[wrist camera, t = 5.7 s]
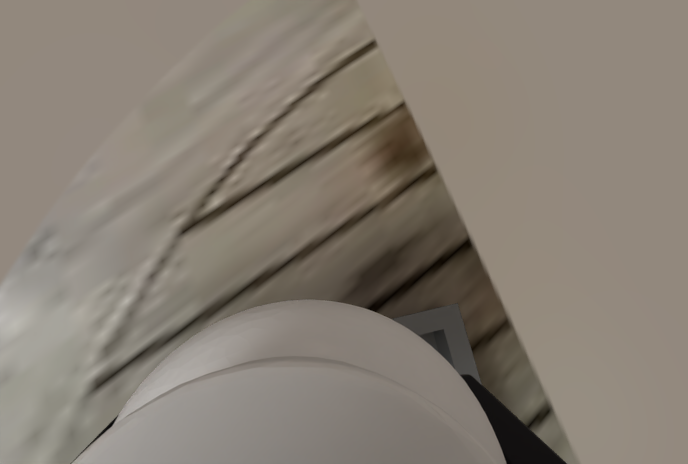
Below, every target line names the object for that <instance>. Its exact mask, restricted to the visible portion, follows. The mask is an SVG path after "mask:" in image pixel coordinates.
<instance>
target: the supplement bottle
mask: <svg viewBox="0 0 688 464" xmlns="http://www.w3.org/2000/svg"><path fill="white" fill-rule="evenodd" d="M72 464H507V463H506V460H505V458H504V455H503V452H502V449H501V446H500V444H499V442H498V440H497V437H496V435H495V433H494V430H493V428H492V426H491V424H490V422H489V420H488V418H487V416H486V414H485V412H484V410H483V408H482V407H481V405H480V403H479V402H478V400H477V398H476V397H475V395H474V394H473V393H472V391H471V390H470V388H469V387H468V385H467V384H466V382H465V381H464V379H463V378H462V377H461V376H460V375H459V374H458V372H457V371H456V370H455V369H454V368H453V367H452V365H451V364H450V363H449V362H448V361H447V360H446V359H445V358H444V357H443V356H442V355H441V354H440V353H438V352H437V351H436V350H435V349H434V348H433V347H432V346H431V345H430V344H428V343H427V342H426V341H425V340H423V339H422V338H421V337H419V336H418V335H416V334H415V333H414V332H412V331H411V330H409V329H408V328H406V327H405V326H403V325H401V324H399V323H397V322H395V321H394V320H392V319H390V318H388V317H385V316H383V315H381V314H379V313H376V312H374V311H371V310H368V309H365V308H362V307H358V306H354V305H350V304H346V303H340V302H335V301H326V300H309V299H307V300H290V301H283V302H277V303H270V304H266V305H261V306H257V307H253V308H250V309H247V310H244V311H241V312H239V313H236V314H234V315H231V316H229V317H227V318H224V319H222V320H220V321H218V322H216V323H214V324H212V325H210V326H209V327H207V328H205V329H204V330H202V331H200V332H199V333H197V334H195V335H194V336H192V337H191V338H190V339H188V340H187V341H186V342H185V343H183V344H182V345H181V346H179V347H178V348H177V349H175V350H174V351H173V352H172V353H171V354H170V355H168V356H167V357H166V358H165V359H164V360H163V361H162V362H161V363H160V364H159V365H158V366H157V367H156V368H155V369H154V370H153V371H152V372H151V374H150V375H149V376H148V377H147V378H146V379H145V380H144V381H143V382H142V383H141V385H140V386H139V387H138V388H137V390H136V391H135V392H134V394H133V395H132V396H131V398H130V399H129V400H128V402H127V403H126V405H125V406H124V408H123V409H122V411H121V412H120V414H119V415H118V417H117V419H116V421H115V422H114V424H113V426H112V427H111V428H109V429H108V430H107V431H106V432H105V433H104V434H102V435H101V436H100V437H99V438H98V439H97V440H96V441H95V442H93V443H92V444H91V445H90V446H89V447H88V448H87V449H86V450H85V451H84V452H83V453H82V454H81V455H80V456H79V457H78V458H77V459H76V460H75V461H74V462H73V463H72Z"/></svg>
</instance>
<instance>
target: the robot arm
mask: <svg viewBox="0 0 688 464" xmlns="http://www.w3.org/2000/svg"><path fill="white" fill-rule="evenodd" d="M460 376H461V377H462V378H463V379H464V381H465V382H466V384H467V385H468V387H469V388H470V390H471V391H472V393H473V394H474V395H475V397H476V398H477V400H478V402H479V403H480V405H481V407H482V408H483V410H484V412H485V414H486V416H487V418H488V420H489V422H490V424H491V426H492V428H493V430H494V433H495V435H496V437H497V440H498V442H499V444H500V446H501V449H502V452H503V455H504V458H505V460H506V463H507V464H567V463H566V462H564V461H563V460H562V459H561V458H560V457H559V456H558V455H557V454H556V453H555V452H554V451H553V450H552V449H550V448H549V447H548V446H547V445H546V444H545V443H544V442H543V441H542V440H541V439H540V438H539V437H537V436H536V435H535V434H534V433H533V432H532V431H531V430H530V429H529V428H528V427H527V426H526V425H525V424H523V423H522V422H521V421H520V420H519V419H518V418H517V417H516V416H515V415H514V414H513V413H512V412H510V411H509V410H508V409H507V408H506V407H505V406H504V405H503V404H502V403H501V402H500V401H499V400H498V399H496V398H495V397H494V396H493V395H492V394H491V393H490V392H489V391H488V390H487V389H486V388H485V387H483V386H482V385H481V384H480V383H479V382H478V381H477V380H476V379H475V378H474V377H473V376H471V375H469V374H462V375H460ZM117 417H118V416H117ZM117 417H116V418H115V419H114V420H113V421H112V422H111V423H110V424H109V425H108V426H107V427H106V428H105V429H104V430H103V431H102V432H101V433H100V434H99V435H98V436H97V437H96V438H95V439H94V440H93V441H92V442H91V443H90V444H89V445H88V446H87V447H86V448H85V449H84V450H83V451H82V452H81V453H80V454H79V455H78V457H79V456H80V455H81V454H82V453H83V452H84V451H85V450H86V449H87V448H88V447H89V446H90V445H91V444H92V443H93V442H95V441H96V440H97V439H98V438H99V437H100V436H101V435H102V434H104V433H105V432H106V431H107V430H108V429H109V428H111V427H112V426H113V424H114V422H115V421H116V419H117ZM78 457H77V458H78ZM77 458H76V459H77ZM76 459H75V460H76ZM75 460H74V461H75ZM74 461H73V462H74ZM73 462H72V463H73ZM72 463H71V464H72Z"/></svg>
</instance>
